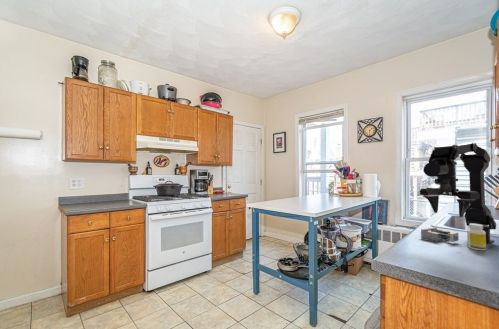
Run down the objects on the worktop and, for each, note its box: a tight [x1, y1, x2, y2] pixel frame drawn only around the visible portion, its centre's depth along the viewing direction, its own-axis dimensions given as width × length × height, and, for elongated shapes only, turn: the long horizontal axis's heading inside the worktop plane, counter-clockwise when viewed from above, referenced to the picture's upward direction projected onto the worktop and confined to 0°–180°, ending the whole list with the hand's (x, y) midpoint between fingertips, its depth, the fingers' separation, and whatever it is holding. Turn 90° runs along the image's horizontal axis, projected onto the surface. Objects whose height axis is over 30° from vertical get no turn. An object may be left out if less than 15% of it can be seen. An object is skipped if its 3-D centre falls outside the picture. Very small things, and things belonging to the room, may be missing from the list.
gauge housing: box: [420, 227, 451, 243], centre depth 107 cm, size 10×7×4 cm
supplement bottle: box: [466, 224, 487, 251], centre depth 94 cm, size 5×5×10 cm
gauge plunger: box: [436, 231, 459, 243], centre depth 104 cm, size 4×8×3 cm, turn 24°
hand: (447, 214), depth 93 cm, fingers open, 9 cm apart
